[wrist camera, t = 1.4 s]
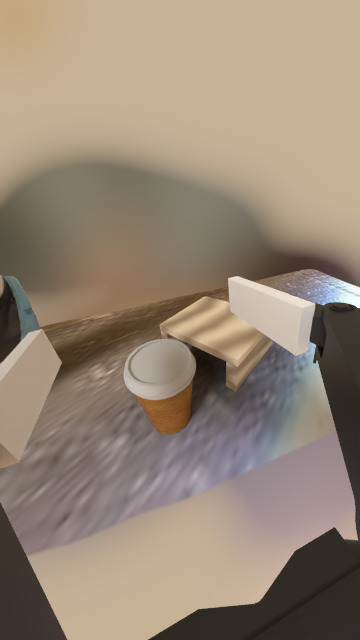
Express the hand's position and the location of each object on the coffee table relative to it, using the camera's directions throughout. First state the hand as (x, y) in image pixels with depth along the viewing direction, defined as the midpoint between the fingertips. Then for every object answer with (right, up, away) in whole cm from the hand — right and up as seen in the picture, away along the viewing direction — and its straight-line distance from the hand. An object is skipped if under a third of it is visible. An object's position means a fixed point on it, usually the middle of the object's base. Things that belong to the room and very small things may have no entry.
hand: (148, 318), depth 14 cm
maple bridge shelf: (+11, -6, +30) cm, 32 cm away
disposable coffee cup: (+1, -15, +17) cm, 23 cm away
